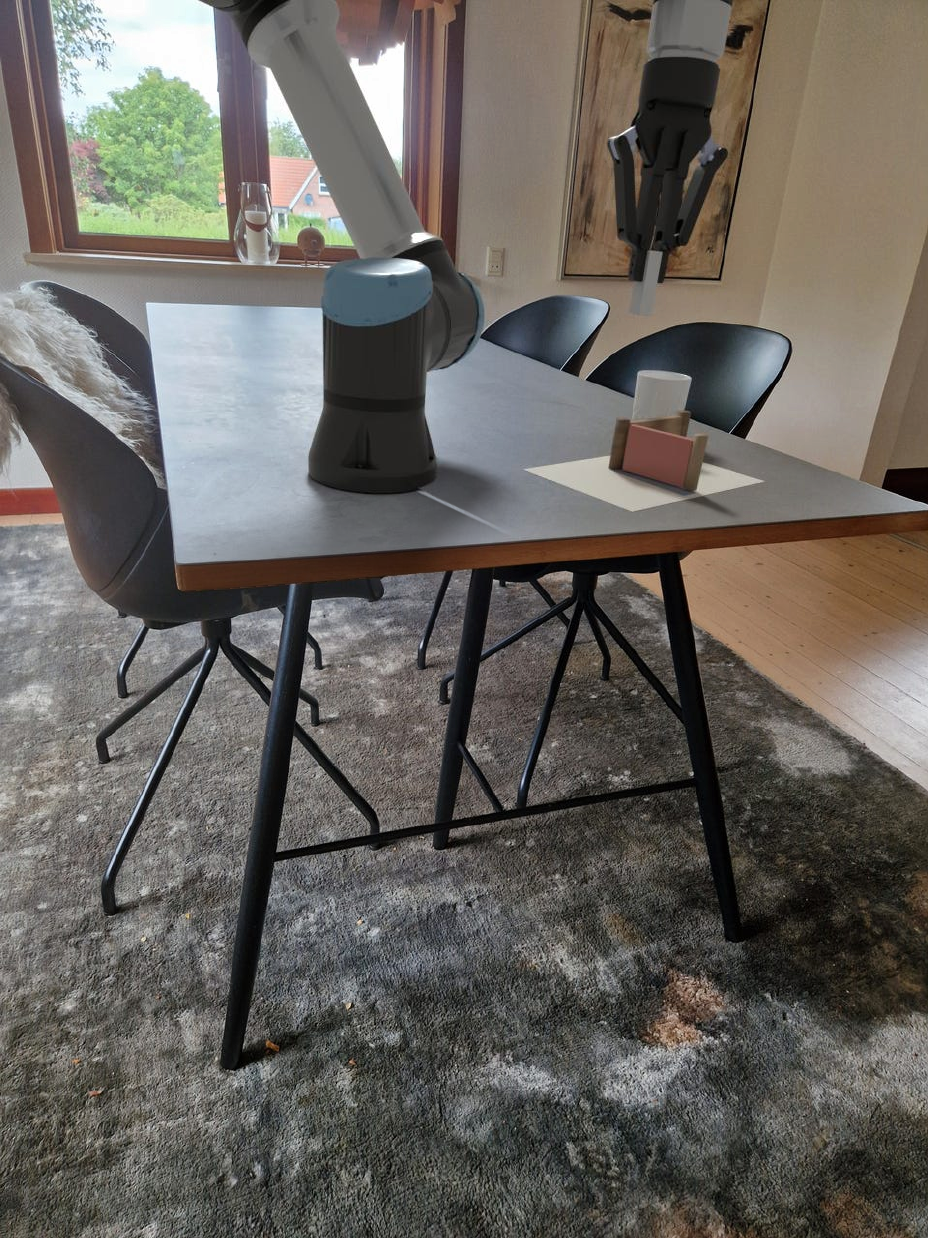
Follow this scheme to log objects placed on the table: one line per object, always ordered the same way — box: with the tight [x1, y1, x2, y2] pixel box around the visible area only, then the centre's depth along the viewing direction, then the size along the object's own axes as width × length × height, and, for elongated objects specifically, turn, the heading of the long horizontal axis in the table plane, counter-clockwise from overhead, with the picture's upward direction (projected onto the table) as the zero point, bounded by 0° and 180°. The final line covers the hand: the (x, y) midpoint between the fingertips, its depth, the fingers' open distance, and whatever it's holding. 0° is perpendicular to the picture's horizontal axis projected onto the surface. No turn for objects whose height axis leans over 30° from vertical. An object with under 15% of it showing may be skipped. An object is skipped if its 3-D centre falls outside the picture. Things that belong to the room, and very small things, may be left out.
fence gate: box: [622, 424, 709, 491], centre depth 98 cm, size 10×2×7 cm, turn 45°
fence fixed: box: [608, 410, 692, 470], centre depth 106 cm, size 15×2×6 cm, turn 129°
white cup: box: [631, 369, 693, 421], centre depth 119 cm, size 8×8×10 cm
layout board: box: [522, 455, 766, 513], centre depth 102 cm, size 27×18×1 cm, turn 129°
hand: (640, 313), depth 88 cm, fingers closed
